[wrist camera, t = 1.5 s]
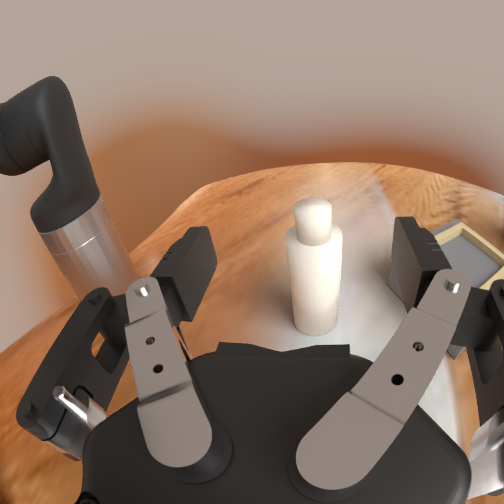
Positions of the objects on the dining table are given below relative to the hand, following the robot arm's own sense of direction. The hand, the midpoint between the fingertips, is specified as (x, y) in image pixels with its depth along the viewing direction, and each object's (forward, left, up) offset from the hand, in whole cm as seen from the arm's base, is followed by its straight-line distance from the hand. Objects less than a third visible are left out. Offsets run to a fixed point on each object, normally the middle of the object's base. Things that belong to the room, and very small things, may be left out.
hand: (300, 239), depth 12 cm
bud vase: (-10, +6, -20) cm, 23 cm away
